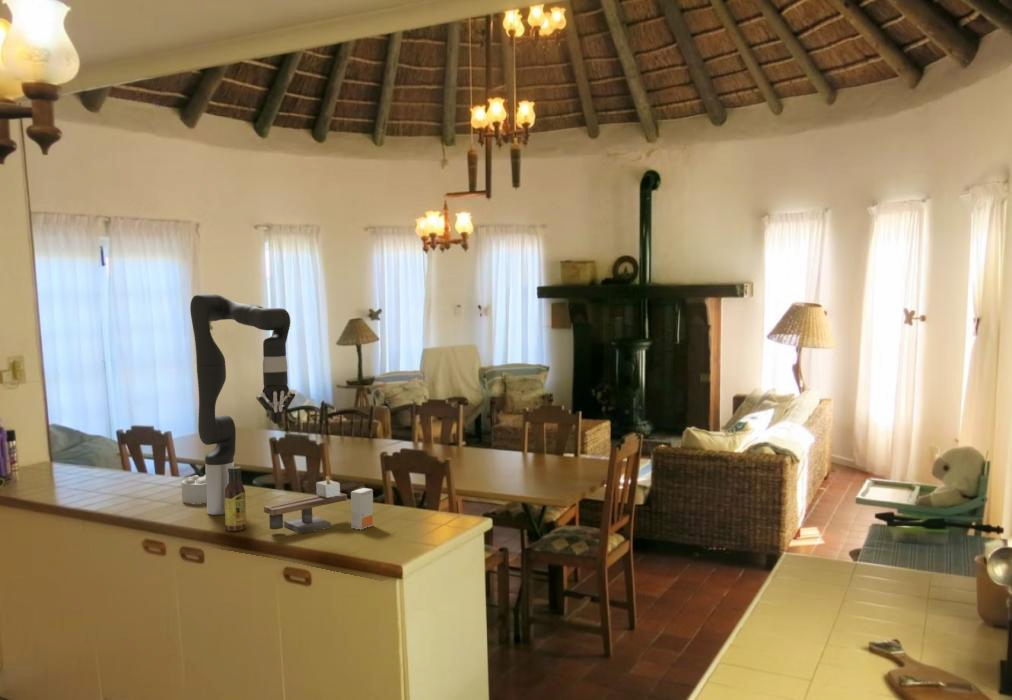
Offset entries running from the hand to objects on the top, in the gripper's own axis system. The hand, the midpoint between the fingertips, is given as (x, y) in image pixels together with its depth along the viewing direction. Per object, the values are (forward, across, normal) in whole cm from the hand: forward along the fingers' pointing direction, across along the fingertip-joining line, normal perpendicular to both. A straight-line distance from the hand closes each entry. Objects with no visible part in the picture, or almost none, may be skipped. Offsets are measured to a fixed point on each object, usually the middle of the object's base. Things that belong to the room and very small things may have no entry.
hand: (276, 423), depth 246 cm
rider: (+26, -12, +10) cm, 30 cm away
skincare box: (+33, -17, +23) cm, 44 cm away
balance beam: (+33, -4, +10) cm, 35 cm away
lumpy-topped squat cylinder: (+33, +7, -50) cm, 61 cm away
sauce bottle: (+33, +13, -4) cm, 36 cm away
